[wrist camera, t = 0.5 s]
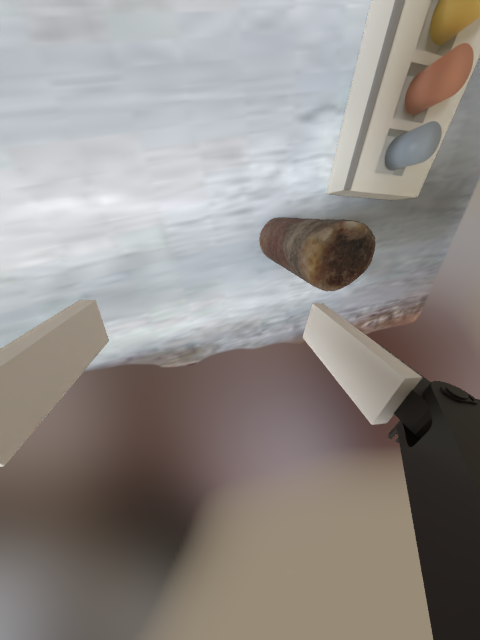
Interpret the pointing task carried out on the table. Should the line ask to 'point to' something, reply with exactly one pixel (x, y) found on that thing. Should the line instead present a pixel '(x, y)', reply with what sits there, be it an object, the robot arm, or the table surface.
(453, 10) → the button mustard
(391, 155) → the button slate
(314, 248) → the brown rounded bar
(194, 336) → the table surface
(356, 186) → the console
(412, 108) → the button terracotta
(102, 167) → the table surface
